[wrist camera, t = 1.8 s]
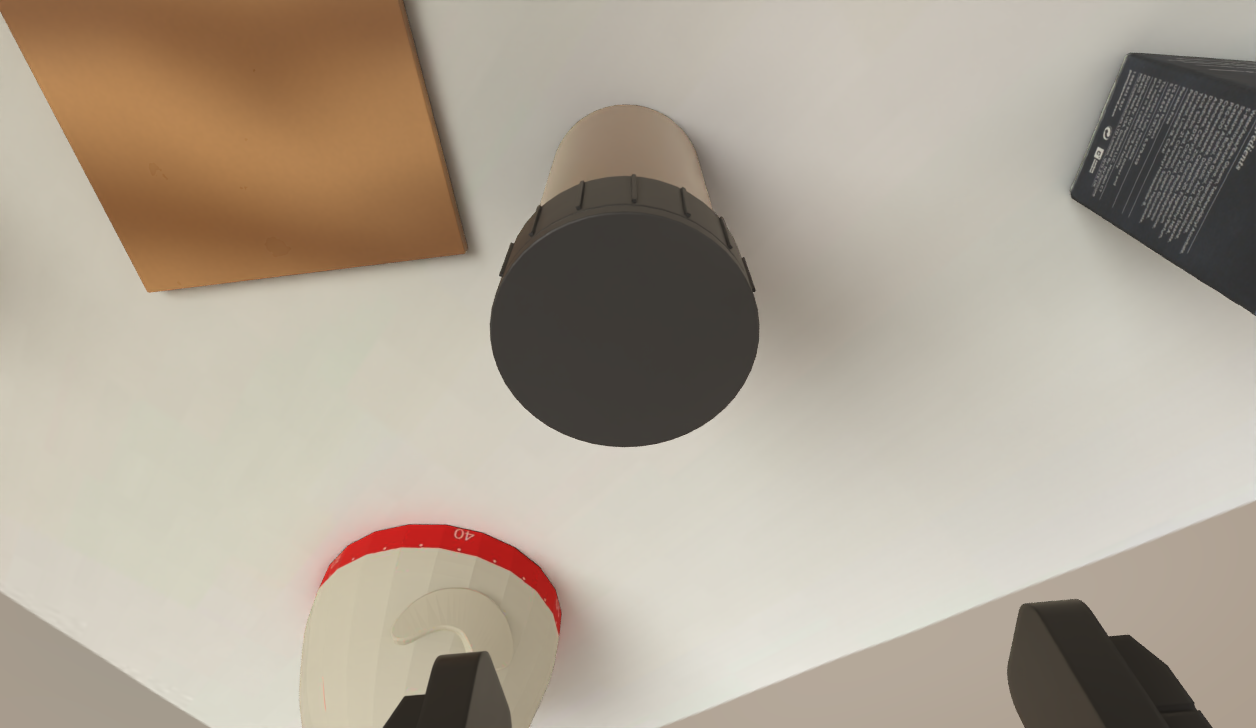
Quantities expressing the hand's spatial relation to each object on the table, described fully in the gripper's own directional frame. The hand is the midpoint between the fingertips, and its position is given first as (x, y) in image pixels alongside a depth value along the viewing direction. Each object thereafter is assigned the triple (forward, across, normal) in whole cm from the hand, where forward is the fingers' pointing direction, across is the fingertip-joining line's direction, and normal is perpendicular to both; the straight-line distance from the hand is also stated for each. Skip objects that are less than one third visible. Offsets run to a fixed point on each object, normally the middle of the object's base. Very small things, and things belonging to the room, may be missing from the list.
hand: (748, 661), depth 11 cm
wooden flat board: (+22, +16, -9) cm, 28 cm away
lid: (+9, +2, -1) cm, 9 cm away
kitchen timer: (+22, +16, +23) cm, 36 cm away
